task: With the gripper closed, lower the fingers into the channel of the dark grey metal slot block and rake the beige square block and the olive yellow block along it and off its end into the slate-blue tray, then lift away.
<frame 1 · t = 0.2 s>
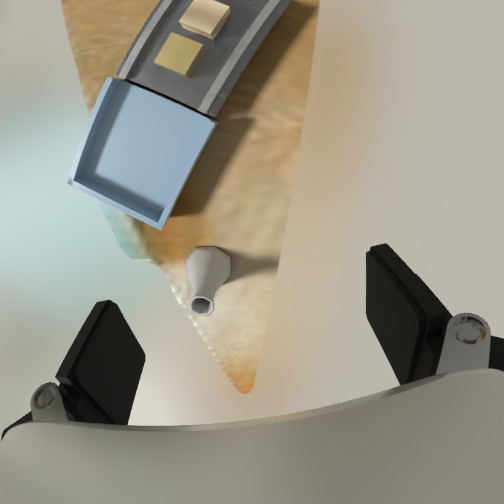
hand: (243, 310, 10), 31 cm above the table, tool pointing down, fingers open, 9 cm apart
slot block: (204, 38, 30), on the table
olive yellow block: (183, 57, 27), point 4 cm above the table, touching slot block
flask: (208, 265, 45), on the table
tray: (144, 148, 36), on the table
beige square block: (206, 21, 25), point 4 cm above the table, touching slot block
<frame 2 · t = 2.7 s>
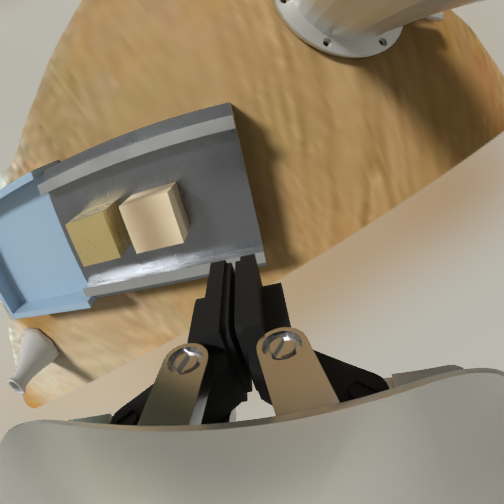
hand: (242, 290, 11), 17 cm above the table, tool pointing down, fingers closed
slot block: (156, 200, 27), on the table
olive yellow block: (106, 226, 24), point 4 cm above the table, touching slot block
flask: (41, 342, 36), on the table
tray: (37, 239, 28), on the table
beige square block: (160, 210, 23), point 4 cm above the table, touching slot block
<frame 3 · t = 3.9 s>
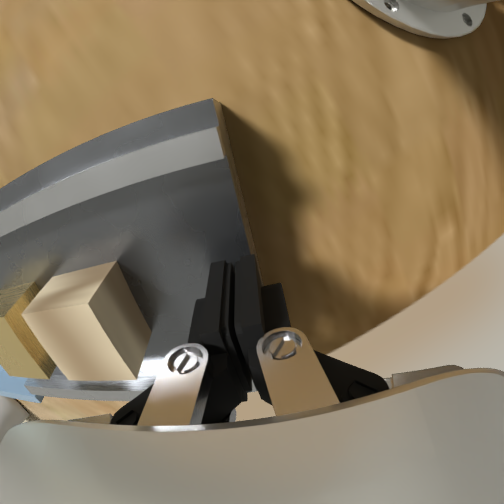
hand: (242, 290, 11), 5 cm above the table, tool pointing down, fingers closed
slot block: (105, 268, 16), on the table
olive yellow block: (30, 316, 13), point 4 cm above the table, touching slot block
flask: (9, 400, 25), on the table
beige square block: (100, 305, 12), point 4 cm above the table, touching slot block
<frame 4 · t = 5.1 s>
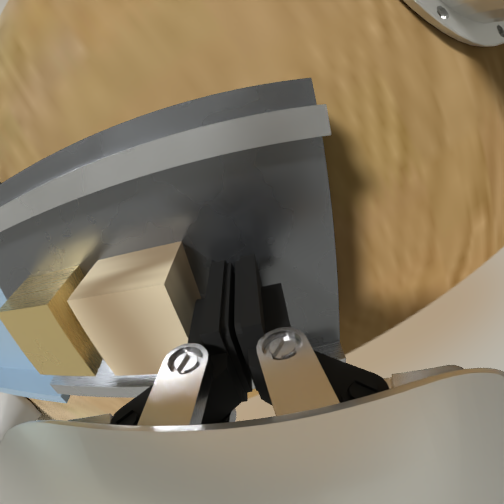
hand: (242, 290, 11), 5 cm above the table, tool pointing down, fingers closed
slot block: (153, 254, 16), on the table
olive yellow block: (68, 305, 12), point 4 cm above the table, touching slot block
flask: (20, 399, 25), on the table
beige square block: (153, 291, 12), point 4 cm above the table, touching gripper, slot block
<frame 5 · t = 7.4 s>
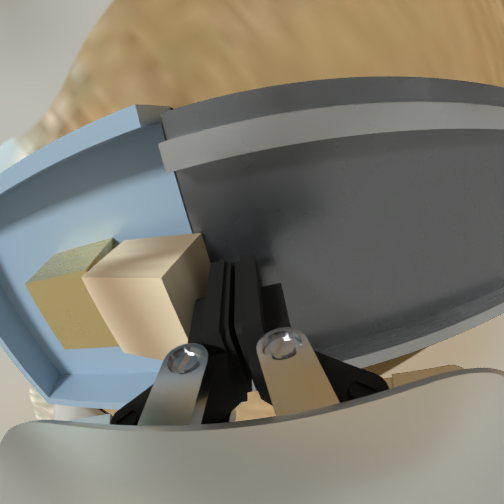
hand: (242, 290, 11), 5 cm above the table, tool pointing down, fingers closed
slot block: (378, 210, 15), on the table
olive yellow block: (96, 280, 14), point 2 cm above the table, touching beige square block, tray
flask: (85, 411, 24), on the table
tray: (94, 270, 16), on the table
beige square block: (174, 277, 12), point 3 cm above the table, tilted 18°, touching olive yellow block, slot block
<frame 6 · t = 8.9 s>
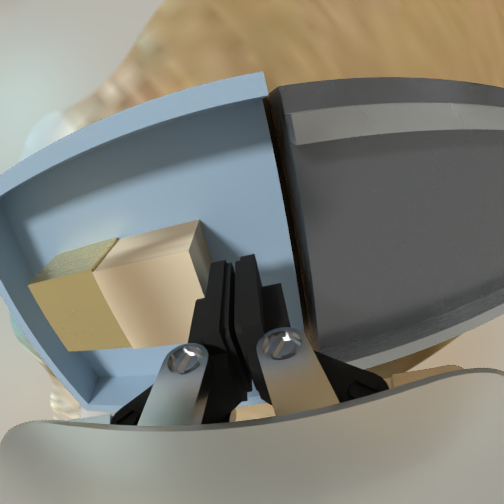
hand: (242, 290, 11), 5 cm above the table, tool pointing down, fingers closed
slot block: (435, 200, 15), on the table
olive yellow block: (100, 280, 13), point 2 cm above the table, touching beige square block, tray
tray: (151, 260, 16), on the table
beige square block: (170, 268, 13), point 2 cm above the table, touching olive yellow block, gripper, tray
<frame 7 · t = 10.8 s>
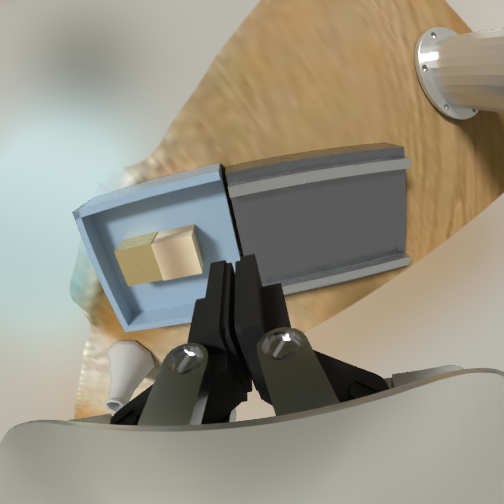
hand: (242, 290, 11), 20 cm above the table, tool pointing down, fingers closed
slot block: (319, 213, 32), on the table
olive yellow block: (145, 252, 30), point 2 cm above the table, touching tray
flask: (132, 355, 39), on the table
tray: (169, 244, 32), on the table
beige square block: (181, 245, 30), point 2 cm above the table, touching tray
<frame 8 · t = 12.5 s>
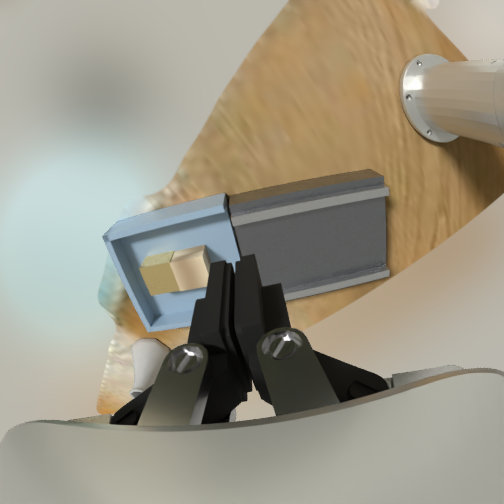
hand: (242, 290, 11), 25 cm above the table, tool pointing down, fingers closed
slot block: (310, 232, 38), on the table
olive yellow block: (164, 267, 36), point 2 cm above the table, touching tray
flask: (152, 350, 47), on the table
tray: (184, 258, 39), on the table
beige square block: (194, 262, 36), point 2 cm above the table, touching tray
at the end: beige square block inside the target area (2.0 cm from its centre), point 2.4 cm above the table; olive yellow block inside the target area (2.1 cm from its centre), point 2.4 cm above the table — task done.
